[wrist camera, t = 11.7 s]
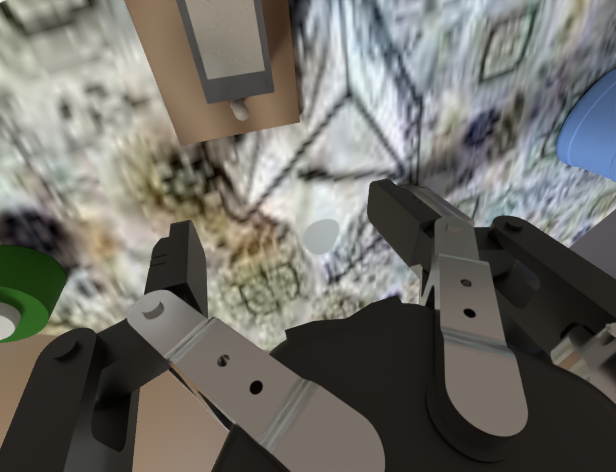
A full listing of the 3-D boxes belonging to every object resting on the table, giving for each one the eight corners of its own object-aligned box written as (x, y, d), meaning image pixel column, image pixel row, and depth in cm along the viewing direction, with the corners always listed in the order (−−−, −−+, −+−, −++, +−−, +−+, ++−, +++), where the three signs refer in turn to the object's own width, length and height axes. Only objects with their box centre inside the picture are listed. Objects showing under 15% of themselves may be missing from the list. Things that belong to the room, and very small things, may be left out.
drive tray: (264, -195, 17) (285, -256, 13) (296, 119, 29) (312, 134, 25) (47, -205, 15) (-2, -285, 11) (181, 141, 27) (180, 161, 23)
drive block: (229, -88, 18) (243, -122, 14) (259, 79, 25) (275, 92, 20) (152, -84, 18) (139, -121, 13) (203, 88, 24) (207, 104, 19)
